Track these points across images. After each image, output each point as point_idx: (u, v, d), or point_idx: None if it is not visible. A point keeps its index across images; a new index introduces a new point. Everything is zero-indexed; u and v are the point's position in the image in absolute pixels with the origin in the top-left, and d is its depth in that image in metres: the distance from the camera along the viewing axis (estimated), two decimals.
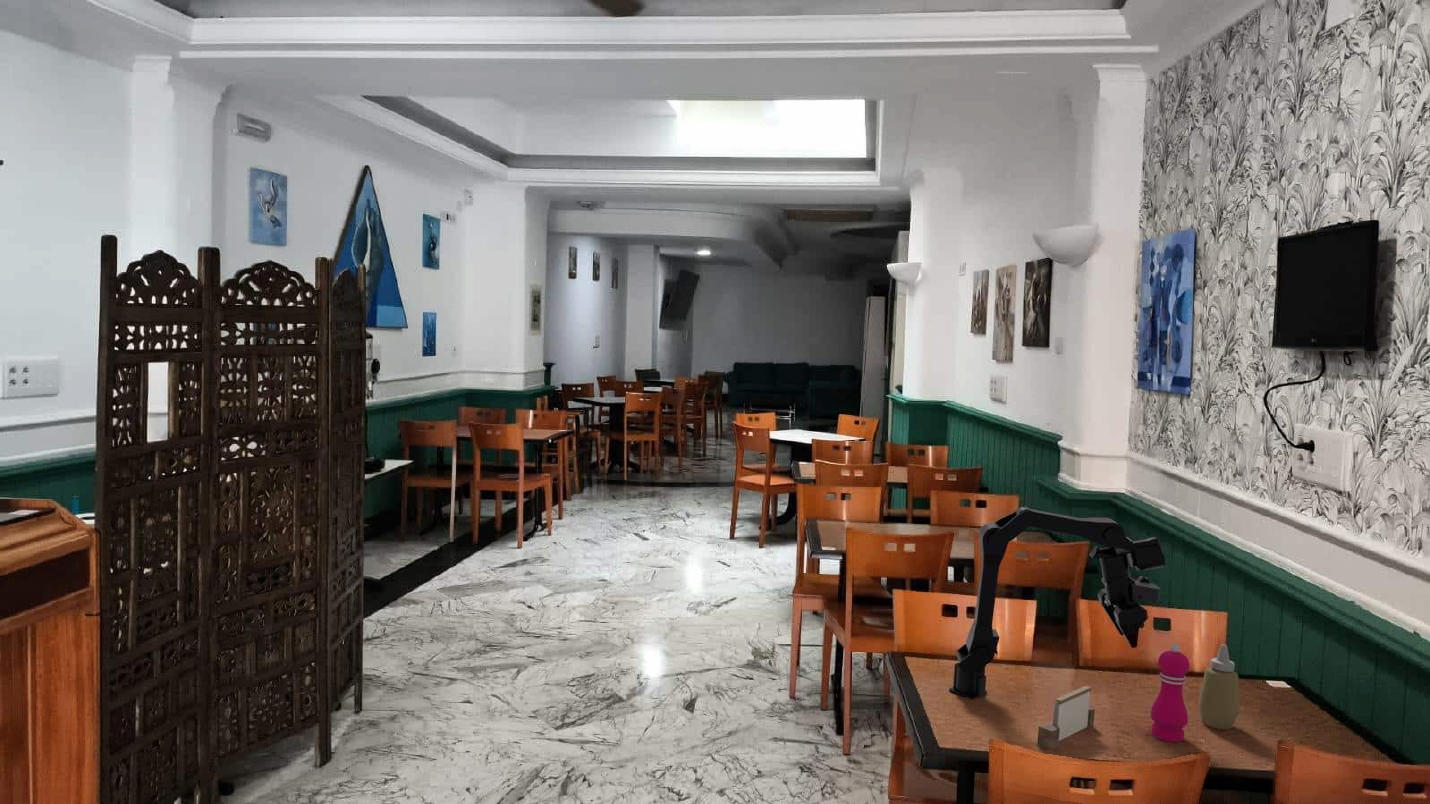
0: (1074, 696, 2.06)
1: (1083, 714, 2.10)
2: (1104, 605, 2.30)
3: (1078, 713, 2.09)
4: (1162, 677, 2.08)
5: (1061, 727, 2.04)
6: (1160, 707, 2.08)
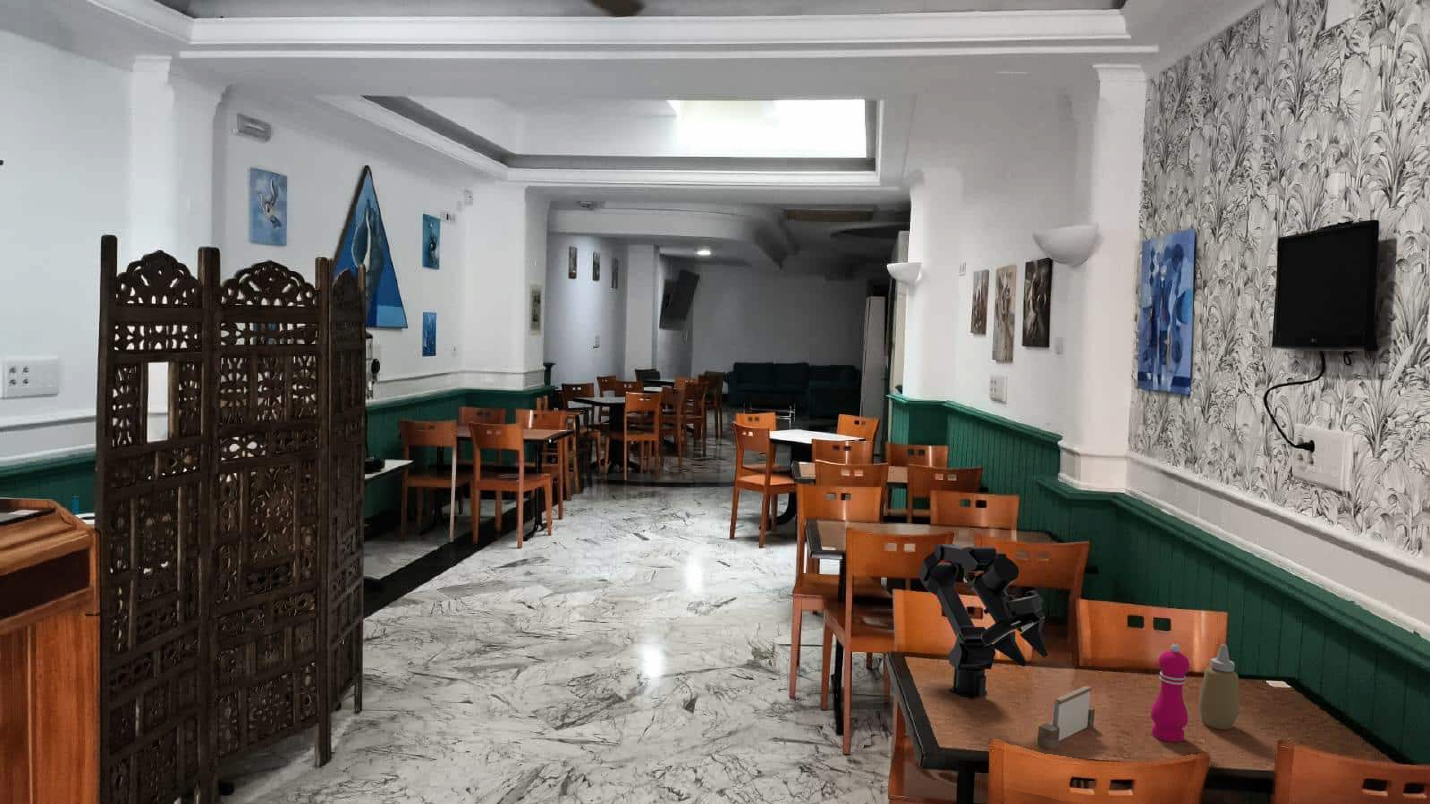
0: (1074, 696, 2.06)
1: (1083, 714, 2.10)
2: None
3: (1078, 713, 2.09)
4: (1162, 677, 2.08)
5: (1061, 727, 2.04)
6: (1160, 707, 2.08)
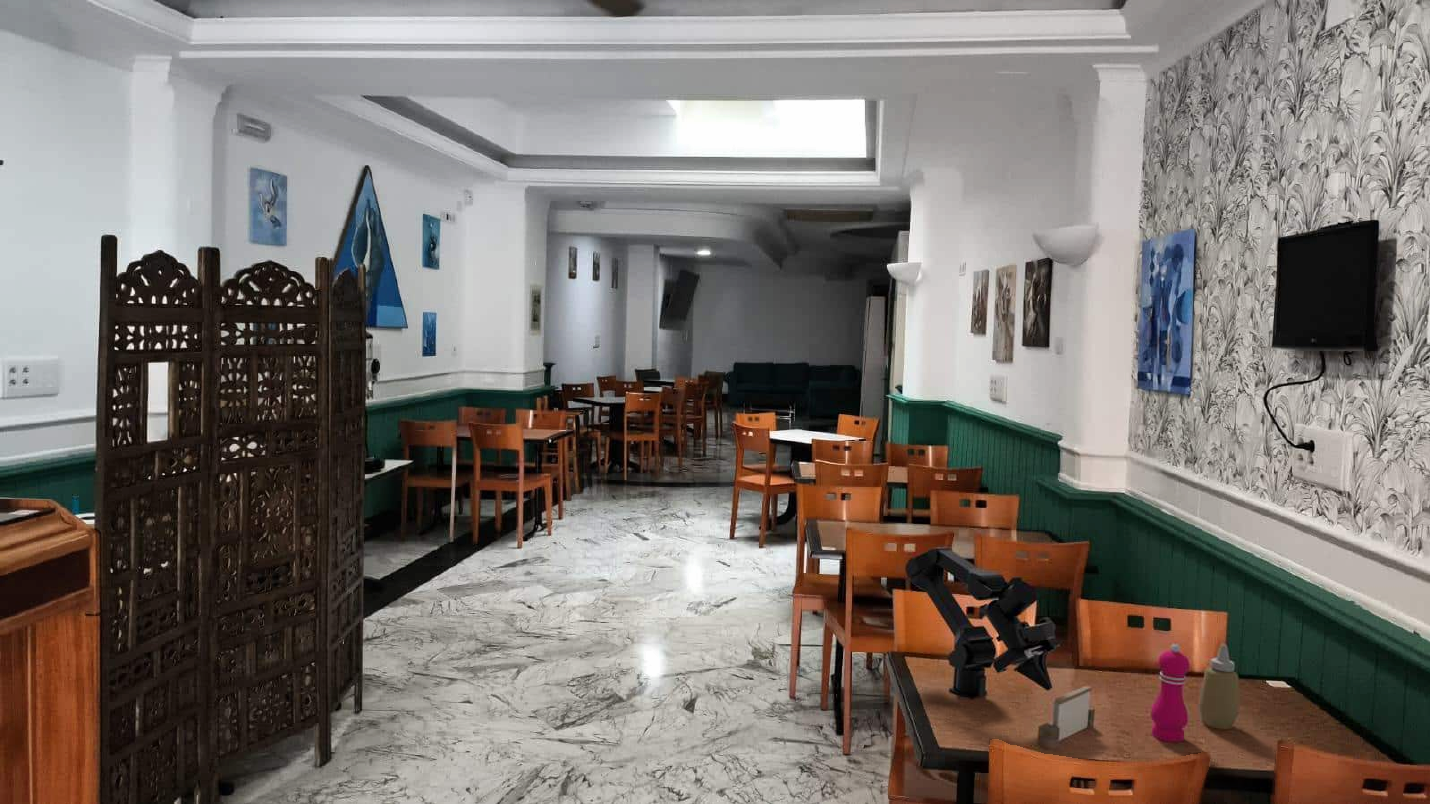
0: (1074, 696, 2.06)
1: (1083, 714, 2.10)
2: None
3: (1078, 713, 2.09)
4: (1162, 677, 2.08)
5: (1061, 727, 2.04)
6: (1160, 707, 2.08)
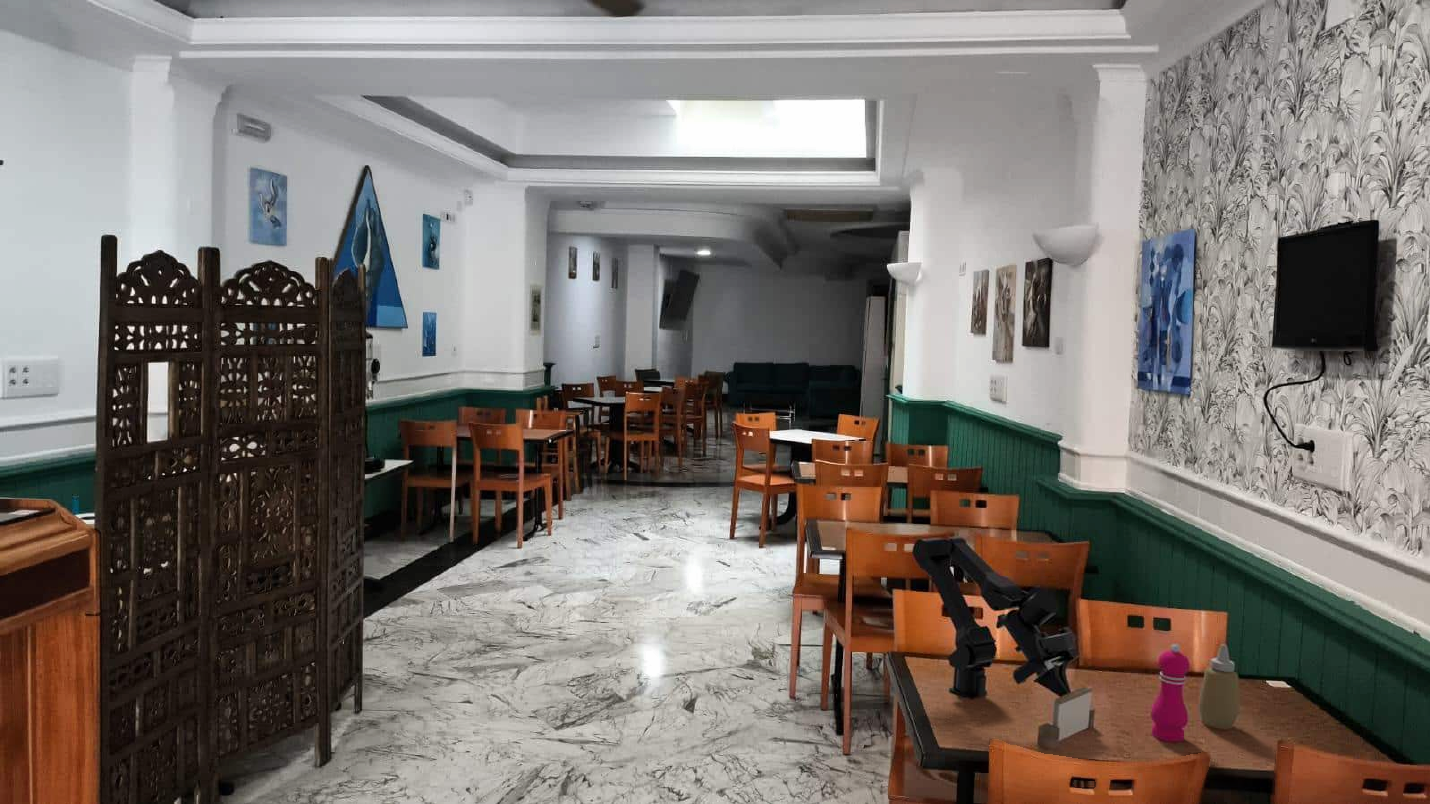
0: (1074, 696, 2.06)
1: (1084, 715, 2.10)
2: None
3: (1079, 713, 2.09)
4: (1162, 677, 2.08)
5: (1061, 727, 2.04)
6: (1160, 707, 2.08)
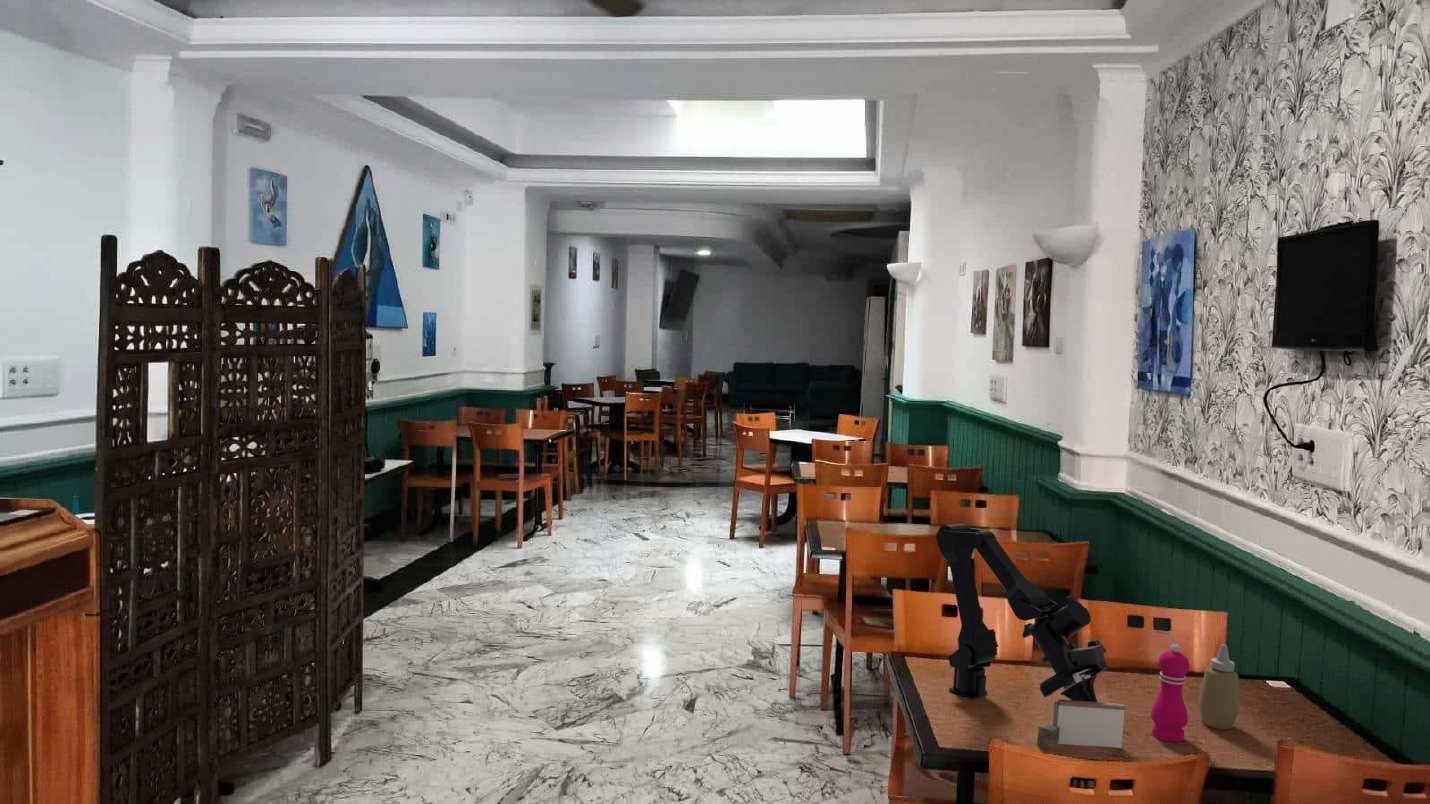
0: (1088, 705, 2.02)
1: (1112, 732, 2.02)
2: None
3: (1100, 727, 2.02)
4: (1162, 677, 2.08)
5: (1065, 730, 2.02)
6: (1160, 707, 2.08)
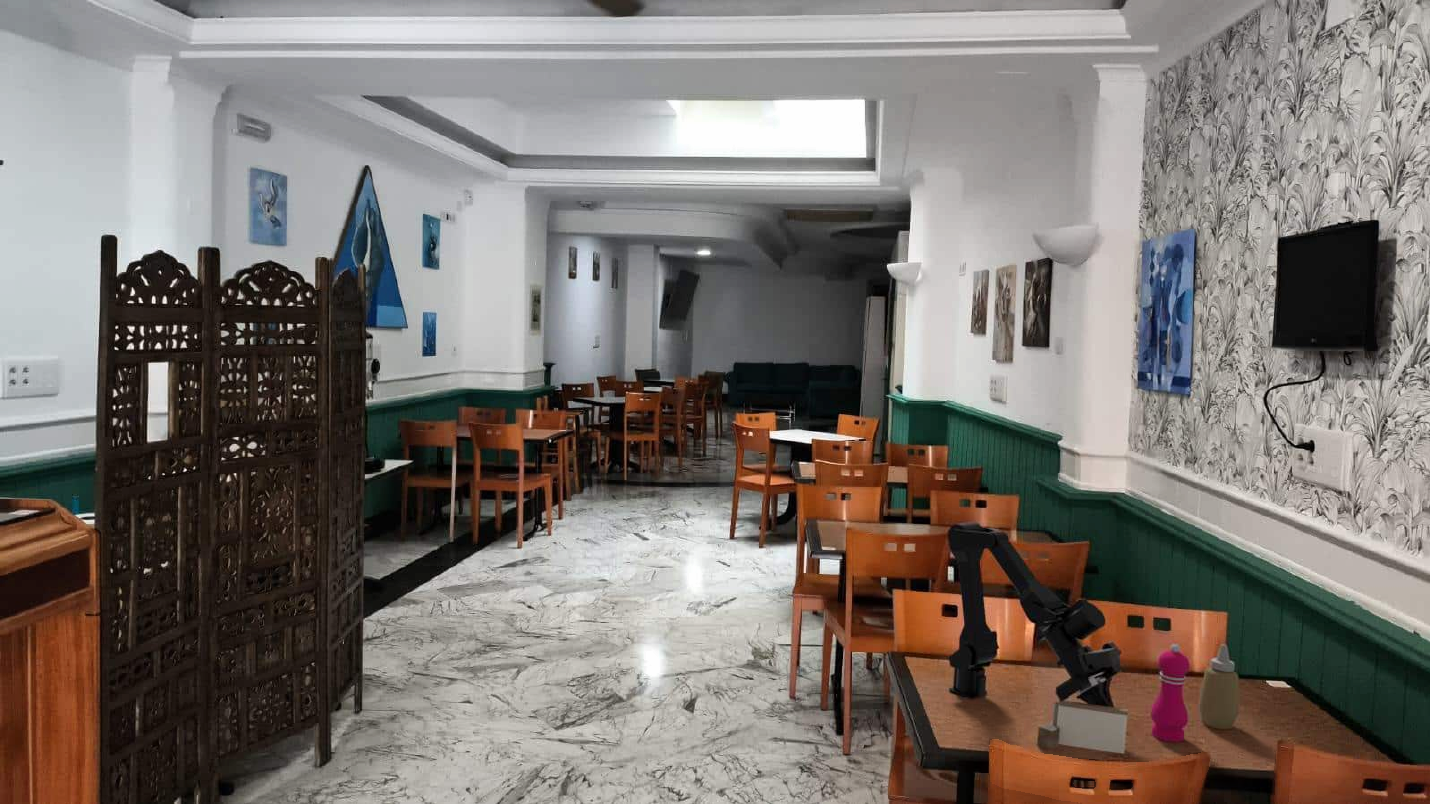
0: (1089, 708, 2.00)
1: (1115, 736, 1.99)
2: None
3: (1102, 730, 2.00)
4: (1162, 677, 2.08)
5: (1065, 731, 2.02)
6: (1160, 707, 2.08)
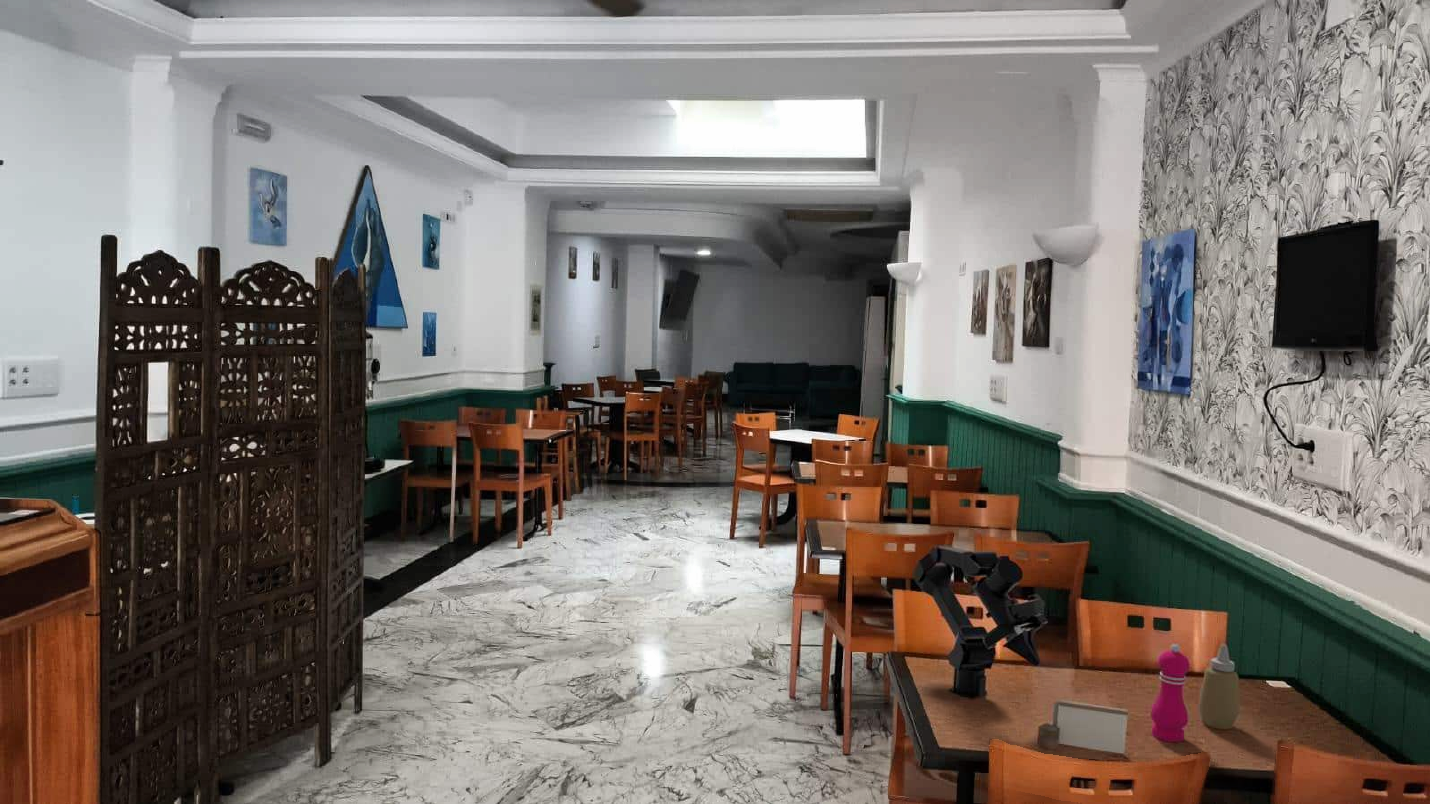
0: (1089, 708, 2.00)
1: (1115, 736, 1.99)
2: None
3: (1102, 730, 2.00)
4: (1162, 677, 2.08)
5: (1065, 731, 2.02)
6: (1160, 707, 2.08)
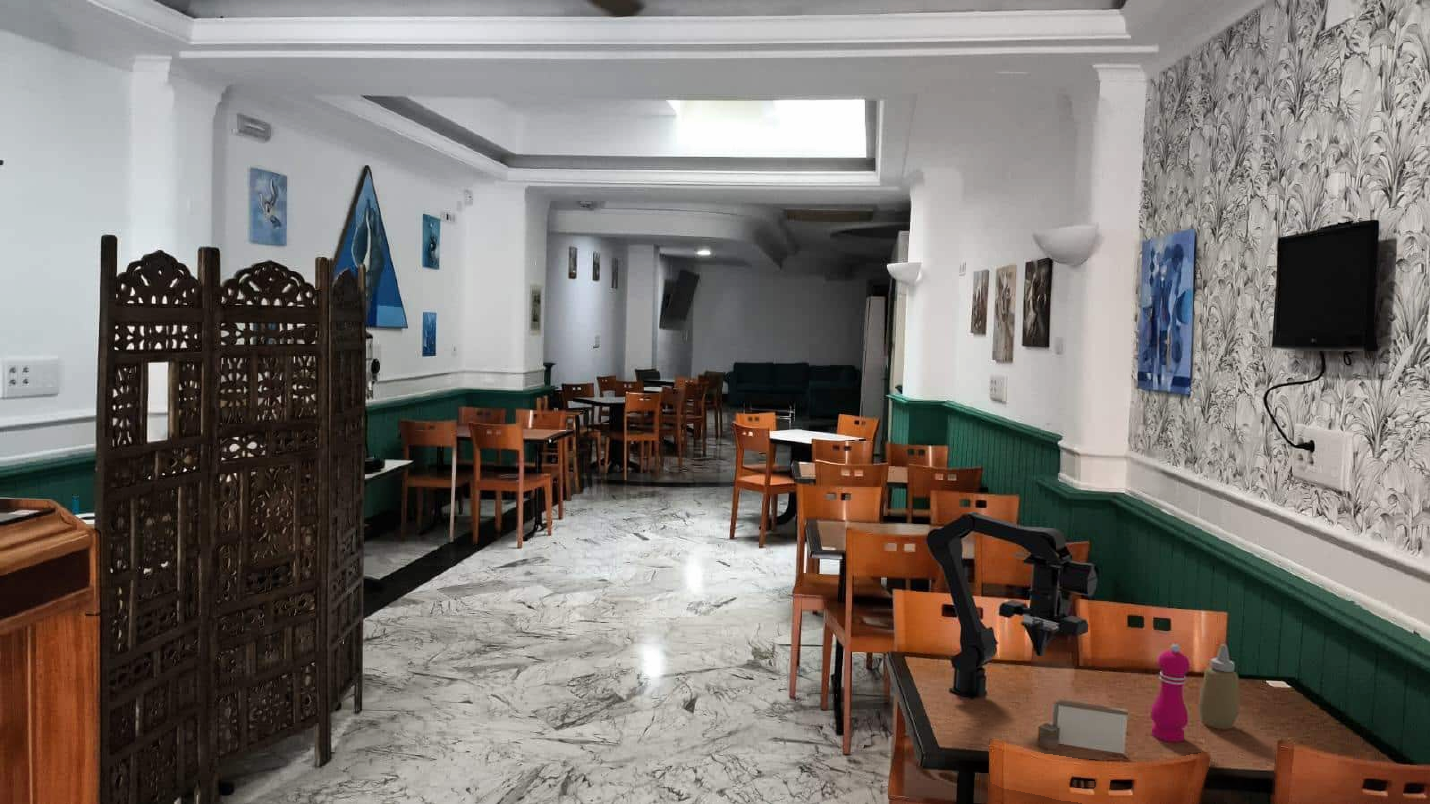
0: (1089, 708, 2.00)
1: (1115, 736, 1.99)
2: (1028, 624, 2.18)
3: (1102, 730, 2.00)
4: (1162, 677, 2.08)
5: (1065, 731, 2.02)
6: (1160, 707, 2.08)
